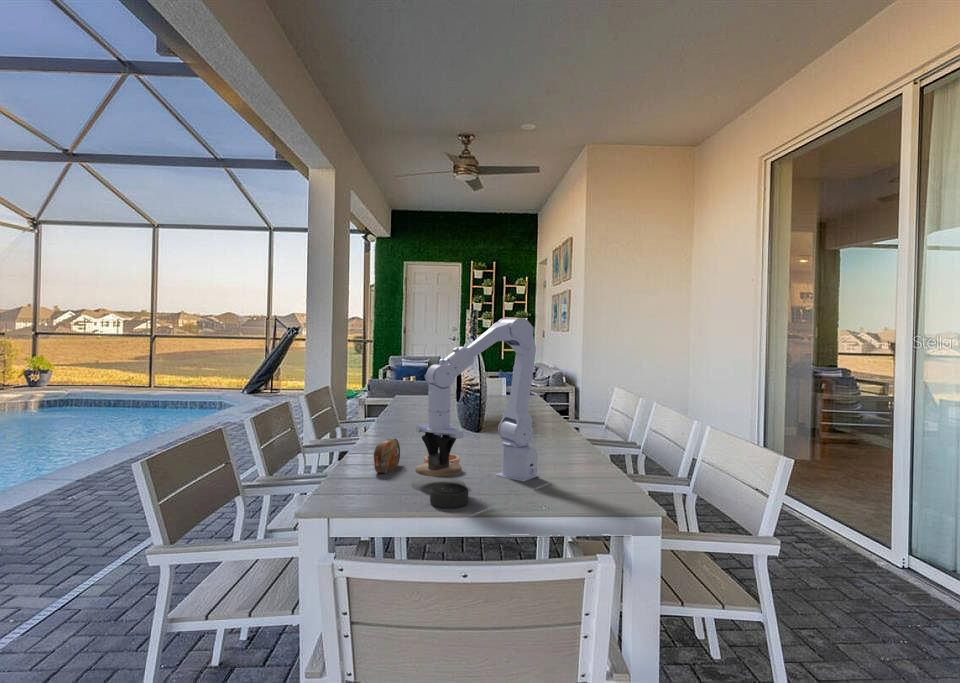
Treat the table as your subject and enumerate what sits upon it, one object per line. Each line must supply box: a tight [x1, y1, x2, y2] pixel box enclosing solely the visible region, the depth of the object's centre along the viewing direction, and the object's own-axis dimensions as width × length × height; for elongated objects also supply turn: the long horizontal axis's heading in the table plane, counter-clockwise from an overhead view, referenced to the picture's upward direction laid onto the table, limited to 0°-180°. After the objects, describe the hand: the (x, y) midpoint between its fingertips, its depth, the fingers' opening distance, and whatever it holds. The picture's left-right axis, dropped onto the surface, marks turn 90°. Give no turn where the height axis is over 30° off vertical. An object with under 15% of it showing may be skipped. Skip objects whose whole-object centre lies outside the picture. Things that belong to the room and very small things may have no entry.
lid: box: [414, 452, 463, 478], centre depth 148 cm, size 12×12×4 cm
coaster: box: [410, 477, 466, 493], centre depth 148 cm, size 14×14×1 cm
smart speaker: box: [429, 484, 469, 510], centre depth 133 cm, size 9×9×4 cm
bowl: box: [423, 453, 461, 466], centre depth 163 cm, size 10×10×4 cm
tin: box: [373, 438, 401, 474], centre depth 164 cm, size 15×3×8 cm, turn 168°
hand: (438, 462), depth 148 cm, fingers closed on lid, 3 cm apart
